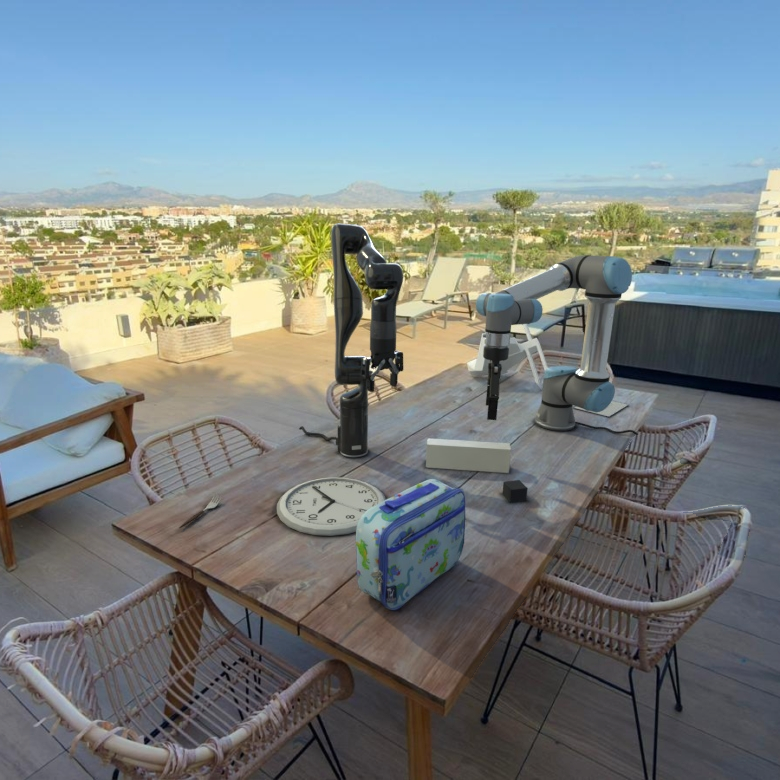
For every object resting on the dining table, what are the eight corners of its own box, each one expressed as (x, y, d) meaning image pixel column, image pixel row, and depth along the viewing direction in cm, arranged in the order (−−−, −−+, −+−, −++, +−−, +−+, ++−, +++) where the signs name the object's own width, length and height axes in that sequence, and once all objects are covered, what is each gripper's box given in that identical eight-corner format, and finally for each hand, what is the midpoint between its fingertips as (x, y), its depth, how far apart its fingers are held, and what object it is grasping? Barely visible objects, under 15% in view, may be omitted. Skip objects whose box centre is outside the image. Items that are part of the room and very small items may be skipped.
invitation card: (608, 416, 214) (573, 407, 224) (608, 416, 214) (573, 408, 224) (628, 404, 229) (594, 396, 238) (628, 405, 229) (594, 397, 238)
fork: (174, 529, 130) (174, 521, 130) (216, 499, 144) (215, 492, 144) (183, 531, 129) (182, 524, 129) (223, 501, 144) (223, 494, 143)
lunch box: (385, 624, 100) (387, 528, 94) (349, 596, 108) (348, 506, 101) (468, 566, 118) (474, 482, 112) (432, 545, 125) (436, 466, 119)
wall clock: (392, 527, 129) (268, 531, 127) (391, 533, 130) (269, 537, 127) (383, 473, 158) (282, 475, 155) (383, 478, 158) (282, 480, 156)
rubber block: (518, 492, 152) (519, 479, 150) (526, 500, 147) (527, 488, 146) (502, 494, 151) (503, 481, 149) (509, 502, 146) (511, 489, 145)
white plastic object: (487, 418, 267) (468, 395, 242) (469, 346, 289) (449, 318, 264) (558, 394, 255) (545, 368, 230) (533, 321, 277) (518, 289, 252)
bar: (507, 466, 168) (509, 443, 166) (508, 473, 163) (511, 449, 161) (426, 460, 171) (427, 438, 169) (425, 467, 166) (426, 444, 164)
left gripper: (393, 329, 157) (392, 381, 162) (355, 335, 148) (355, 390, 153) (410, 334, 151) (408, 387, 156) (371, 340, 142) (371, 396, 148)
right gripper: (482, 337, 170) (478, 399, 176) (485, 354, 146) (479, 425, 153) (506, 338, 169) (500, 400, 175) (512, 355, 145) (505, 427, 152)
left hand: (382, 388), depth 155 cm, fingers open, 8 cm apart
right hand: (490, 412), depth 164 cm, fingers open, 13 cm apart
